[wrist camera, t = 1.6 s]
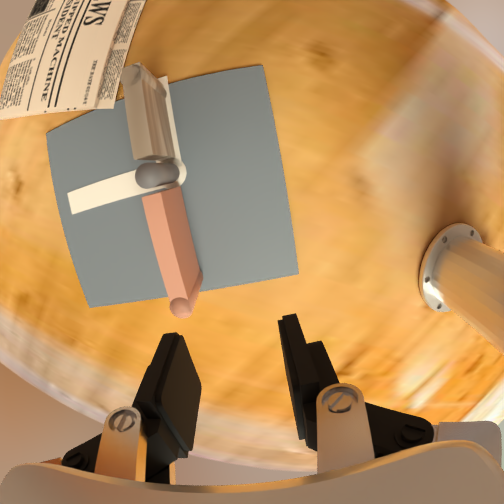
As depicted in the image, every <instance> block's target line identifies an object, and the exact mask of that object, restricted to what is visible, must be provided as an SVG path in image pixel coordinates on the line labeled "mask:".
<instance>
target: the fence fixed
mask: <svg viewBox="0 0 504 504" xmlns="http://www.w3.org/2000/svg"><path fill="white" fill-rule="evenodd" d="M121 70H122V73H121V75H120V81H121V83H122V85H123V90H124V99H125V107H126V114H127V121H128V128H129V134H130V140H131V146H132V152H133V158H134V160H154V161H162V160H166V159H170V158H174V157H176V156H175V151H174V146H173V140H172V135H171V129H170V123H169V117H168V111H167V105H166V96H167V93H166V90H165V89H164V85H163V84H162V83H161V82H160V81H159V80H158V79H157V78H156V77H155V76H154V75H153V74H152V73H151V72H150V71H149V70H147V69H146V68H145V67H144V66H143V65H142V64H141V63H140V62H138V63H135V64H132V65H129V66H127V67H124V68H121Z"/></svg>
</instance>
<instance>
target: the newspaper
mask: <svg viewBox="0 0 504 504" xmlns="http://www.w3.org/2000/svg"><path fill="white" fill-rule="evenodd" d="M145 1H146V0H36V1H35V3H34V5H33V7H32V9H31V11H30V14H29V16H28V18H27V20H26V22H25V25H24V27H23V29H22V32H21V34H20V37H19V39H18V42H17V44H16V47H15V50H14V53H13V56H12V58H11V62H10V65H9V68H8V71H7V74H6V78H5V82H4V85H3V89H2V93H1V97H0V120H2V119H11V118H18V117H24V116H31V115H38V114H46V113H55V112H65V111H78V110H90V109H113V108H114V104H115V99H116V94H117V90H118V86H119V82H120V75H121V73H122V70H121V68H123V66H124V63H125V59H126V56H127V52H128V49H129V46H130V43H131V39H132V36H133V33H134V31H135V28H136V25H137V22H138V19H139V17H140V14H141V11H142V9H143V6H144V4H145Z"/></svg>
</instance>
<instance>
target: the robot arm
mask: <svg viewBox="0 0 504 504" xmlns="http://www.w3.org/2000/svg"><path fill="white" fill-rule="evenodd" d="M419 288H420V293H421V296H422V298H423V300H424V302H425V303H426V304H427V305H428V306H429V307H430V308H432V309H433V310H435V311H437V312H447V311H451V310H452V311H453V312H454V313H456V314H457V315H458V316H459V317H460V318H462V319H463V320H464V321H465V322H466V323H468V324H469V325H470V326H471V327H472V328H473V329H475V330H476V331H477V332H478V333H479V334H480V335H482V336H483V337H484V338H485V339H486V340H487V341H488V342H489V343H491V344H492V345H493V346H494V347H495V348H496V349H497V350H498V351H499V352H500V353H502V354H503V355H504V253H503V252H501V251H500V250H497V249H494V248H492V247H490V246H488V245H485V244H483V242H482V239H481V237H480V235H479V233H478V232H477V231H476V229H475V228H473V227H472V226H470V225H467V224H464V223H455V224H451V225H449V226H447V227H445V228H444V229H443V230H442V231H440V232H439V233H438V235H437V236H436V237H435V238H434V239H433V241H432V242H431V244H430V245H429V247H428V249H427V251H426V253H425V255H424V258H423V261H422V264H421V269H420V275H419ZM282 318H283V320H278V326H279V332H280V338H281V345H282V351H283V357H284V363H285V370H286V376H287V381H288V386H289V391H290V396H291V401H292V406H293V411H294V416H295V421H296V426H297V431H298V436H299V440H302V439H305V441H306V446H308V448H311V449H313V450H315V451H317V474H315V475H310V476H306V477H300V478H294V479H288V480H281V481H274V482H265V483H256V484H242V485H221V486H192V485H176V479H175V464H174V461H175V460H177V458H187V457H188V451H191V450H192V449H193V443H194V436H195V429H196V422H197V416H198V409H199V402H200V396H201V382H200V379H199V377H198V374H197V372H196V369H195V367H194V364H193V362H192V359H191V356H190V354H189V351H188V348H187V346H186V343H185V340H184V337H183V336H182V335H179V334H178V333H177V332H175V333H166V334H163V336H162V338H161V341H160V343H159V345H158V348H157V350H156V352H155V355H154V357H153V360H152V362H151V364H150V365H149V366H148V368H147V370H146V372H145V375H144V377H143V379H142V382H141V384H140V387H139V389H138V392H137V394H136V397H135V399H134V402H133V404H132V407H121V408H118V409H116V410H114V411H112V412H111V413H110V414H109V415H108V416H107V418H106V420H105V423H104V428H103V432H102V433H101V434H99V435H98V436H96V437H94V438H92V439H90V440H88V441H87V442H85V443H83V444H81V445H79V446H77V447H75V448H73V449H71V450H70V451H68V452H67V453H66V454H65V456H64V457H63V459H61V458H60V457H59V458H56V459H52V460H48V461H44V462H40V463H37V462H36V463H25V464H20V465H17V466H15V467H13V468H12V469H11V470H10V471H9V472H8V474H7V475H6V476H5V478H4V480H3V481H2V483H1V485H0V504H504V471H503V469H502V468H501V455H502V449H501V448H502V447H501V432H500V428H499V427H498V426H497V424H495V423H493V422H491V421H476V422H439V424H438V425H431V423H430V422H428V421H427V420H426V419H423V418H421V417H417V416H413V415H409V414H405V413H401V412H397V411H394V410H390V409H386V408H383V407H380V406H376V405H373V404H369V403H366V402H364V397H363V394H362V392H361V391H360V390H359V389H358V388H357V387H356V386H354V385H351V384H346V383H339V380H338V378H337V376H336V373H335V371H334V368H333V366H332V364H331V361H330V359H329V357H328V354H327V352H326V349H325V347H324V345H323V343H322V341H317V342H312V343H308V344H306V341H305V338H304V335H303V332H302V329H301V326H300V324H299V321H298V318H297V315H296V313H295V314H290V315H285V316H282Z"/></svg>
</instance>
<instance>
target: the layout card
mask: <svg viewBox="0 0 504 504" xmlns="http://www.w3.org/2000/svg"><path fill="white" fill-rule="evenodd" d="M157 79H158V80H159V81H160V82H161V83H162V84H163V85H164V89H165V90H166V93H167V96H166V105H167V111H168V117H169V123H170V129H171V135H172V140H173V146H174V151H175V156H176V157H174V158H170V159H166V160H162V161H154V160H134V158H133V152H132V146H131V140H130V134H129V128H128V121H127V114H126V107H125V99H121V100H118V101H116V102H115V104H114V108H113V109H96V110H94V111H91V112H89V113H87V114H85V115H82V116H80V117H78V118H76V119H74V120H72V121H70V122H68V123H65V124H63V125H61V126H60V127H58V128H56V129H54V130H52V131H50V132H48V133H46V137H47V146H48V154H49V161H50V168H51V174H52V180H53V185H54V191H55V196H56V200H57V205H58V209H59V214H60V218H61V222H62V226H63V230H64V233H65V237H66V241H67V244H68V247H69V251H70V254H71V257H72V260H73V264H74V267H75V270H76V273H77V276H78V278H79V281H80V284H81V287H82V289H83V292H84V295H85V297H86V300H87V303H88V305H89V308H92V307H99V306H107V305H114V304H122V303H129V302H136V301H143V300H150V299H156V298H163V297H168V294H167V291H166V288H165V284H164V281H163V278H162V274H161V271H160V268H159V264H158V261H157V257H156V253H155V250H154V246H153V242H152V239H151V235H150V231H149V227H148V223H147V219H146V215H145V210H144V206H143V202H142V197H144V196H147V195H150V194H153V193H157V192H160V191H163V190H166V189H171V188H175V187H179V186H181V191H182V196H183V200H184V205H185V210H186V214H187V218H188V223H189V227H190V232H191V236H192V240H193V244H194V248H195V253H196V257H197V261H198V265H199V269H200V271H201V272H202V274H203V281H202V284H201V287H200V290H199V292H201V291H207V290H213V289H219V288H225V287H231V286H237V285H242V284H248V283H254V282H259V281H265V280H270V279H276V278H281V277H286V276H292V275H297V274H299V271H298V263H297V256H296V249H295V242H294V235H293V228H292V221H291V215H290V208H289V202H288V196H287V189H286V183H285V177H284V172H283V166H282V160H281V155H280V149H279V144H278V138H277V133H276V128H275V122H274V117H273V112H272V107H271V102H270V98H269V93H268V88H267V83H266V79H265V74H264V70H263V65H260V66H252V67H246V68H239V69H233V70H227V71H222V72H217V73H212V74H207V75H203V76H198V77H194V78H190V79H186V80H182V81H178V82H174V83H171V84H168V78H167V76H164V77H161V78H157ZM143 163H172V164H175V165H176V166H177V167H178V168H179V171H180V175H179V178H178V179H177V180H176V181H175V182H174V183H170V184H166V185H162V186H157V187H153V188H149V189H144V188H141V187H140V186H139V185H138V184H137V183H136V180H135V172H136V170H137V168H138V167H139V166H140V165H141V164H143Z"/></svg>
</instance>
